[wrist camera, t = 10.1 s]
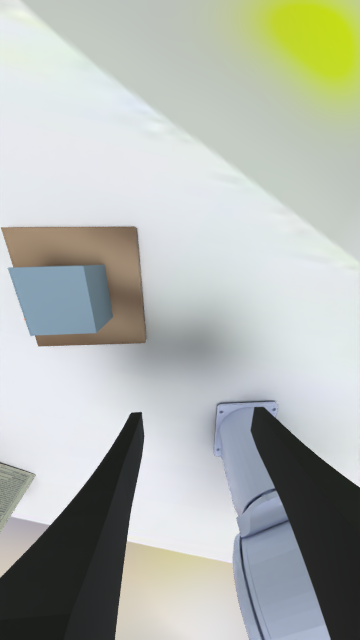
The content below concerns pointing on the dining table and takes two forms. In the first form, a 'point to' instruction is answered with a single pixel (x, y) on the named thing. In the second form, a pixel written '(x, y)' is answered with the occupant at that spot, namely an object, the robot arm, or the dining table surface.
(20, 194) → the dining table surface
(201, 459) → the dining table surface
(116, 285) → the board
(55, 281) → the slate blue cube
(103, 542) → the robot arm
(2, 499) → the skincare box
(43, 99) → the dining table surface
